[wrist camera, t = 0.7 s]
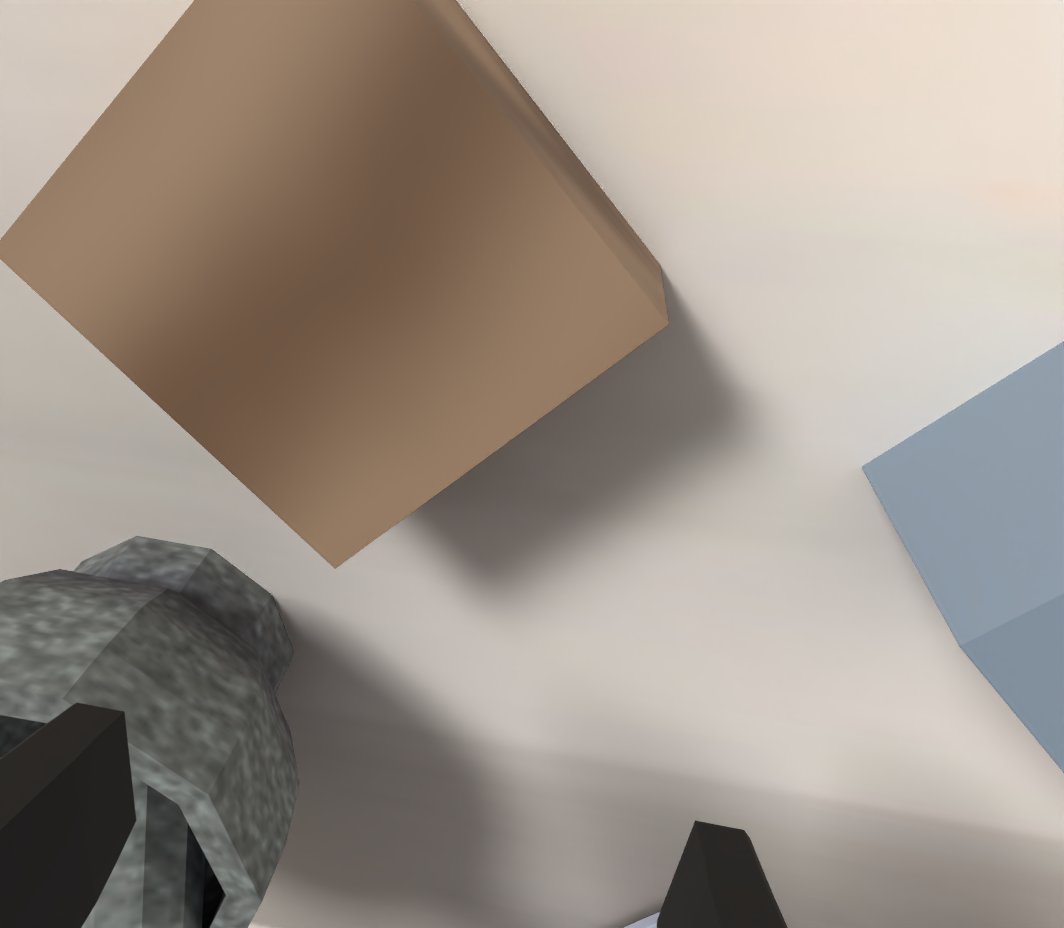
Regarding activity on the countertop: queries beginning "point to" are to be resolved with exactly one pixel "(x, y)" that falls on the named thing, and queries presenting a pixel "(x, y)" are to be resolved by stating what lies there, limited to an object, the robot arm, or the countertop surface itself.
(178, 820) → the mortar and pestle
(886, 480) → the slate block
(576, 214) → the walnut plinth
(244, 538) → the countertop surface
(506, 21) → the countertop surface
